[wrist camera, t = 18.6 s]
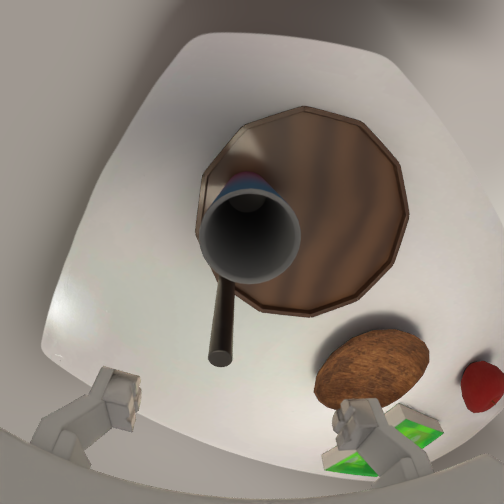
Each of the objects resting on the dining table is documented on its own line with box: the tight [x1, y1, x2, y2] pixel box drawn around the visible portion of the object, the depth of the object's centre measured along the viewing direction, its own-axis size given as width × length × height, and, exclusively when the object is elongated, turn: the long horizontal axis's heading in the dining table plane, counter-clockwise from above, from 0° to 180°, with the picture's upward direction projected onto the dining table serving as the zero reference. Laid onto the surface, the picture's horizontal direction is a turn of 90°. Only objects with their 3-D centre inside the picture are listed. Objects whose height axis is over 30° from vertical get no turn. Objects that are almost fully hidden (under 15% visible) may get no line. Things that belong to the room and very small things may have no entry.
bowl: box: [314, 329, 429, 410], centre depth 46 cm, size 20×22×5 cm
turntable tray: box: [195, 106, 409, 367], centre depth 28 cm, size 26×26×16 cm
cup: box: [199, 171, 301, 284], centre depth 27 cm, size 7×7×15 cm
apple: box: [461, 361, 504, 413], centre depth 47 cm, size 12×12×13 cm
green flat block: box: [321, 403, 444, 477], centre depth 60 cm, size 25×25×5 cm
